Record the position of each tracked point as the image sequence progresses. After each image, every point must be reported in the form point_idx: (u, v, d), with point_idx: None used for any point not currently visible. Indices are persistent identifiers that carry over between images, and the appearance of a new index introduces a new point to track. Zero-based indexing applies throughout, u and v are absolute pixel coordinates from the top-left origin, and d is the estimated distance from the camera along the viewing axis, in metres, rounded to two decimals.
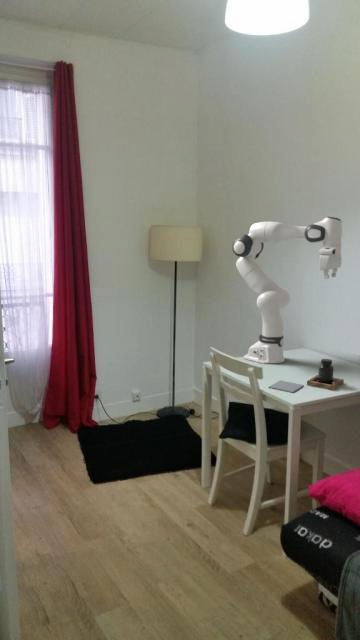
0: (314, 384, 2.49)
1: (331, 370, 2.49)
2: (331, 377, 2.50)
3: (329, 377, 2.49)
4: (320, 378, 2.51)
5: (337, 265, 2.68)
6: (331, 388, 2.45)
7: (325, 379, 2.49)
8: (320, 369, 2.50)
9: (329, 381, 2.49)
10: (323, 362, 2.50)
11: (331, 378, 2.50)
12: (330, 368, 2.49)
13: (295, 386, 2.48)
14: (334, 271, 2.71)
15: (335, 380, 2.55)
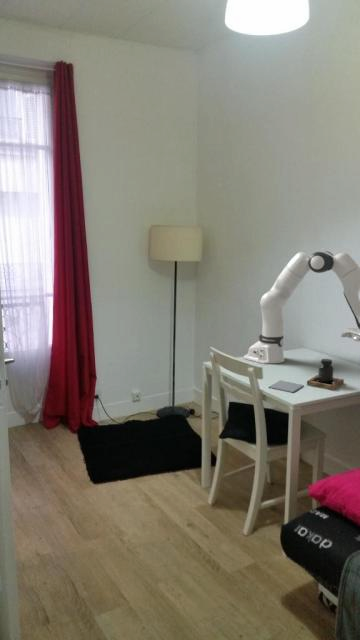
0: (314, 384, 2.49)
1: (331, 370, 2.49)
2: (331, 377, 2.50)
3: (329, 377, 2.49)
4: (320, 378, 2.51)
5: None
6: (331, 388, 2.45)
7: (325, 379, 2.49)
8: (320, 369, 2.50)
9: (329, 381, 2.49)
10: (323, 362, 2.50)
11: (331, 378, 2.50)
12: (330, 368, 2.49)
13: (295, 386, 2.48)
14: None
15: (335, 380, 2.55)
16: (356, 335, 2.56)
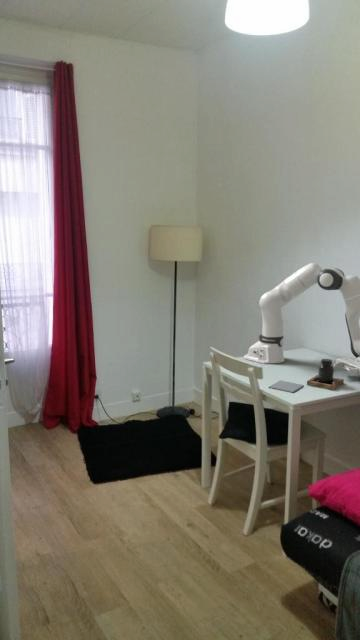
0: (314, 384, 2.49)
1: (331, 370, 2.49)
2: (331, 377, 2.50)
3: (329, 377, 2.49)
4: (320, 378, 2.51)
5: None
6: (331, 388, 2.45)
7: (325, 379, 2.49)
8: (320, 369, 2.50)
9: (329, 381, 2.49)
10: (323, 362, 2.50)
11: (331, 378, 2.50)
12: (330, 368, 2.49)
13: (295, 386, 2.48)
14: None
15: (335, 380, 2.55)
16: (349, 366, 2.58)
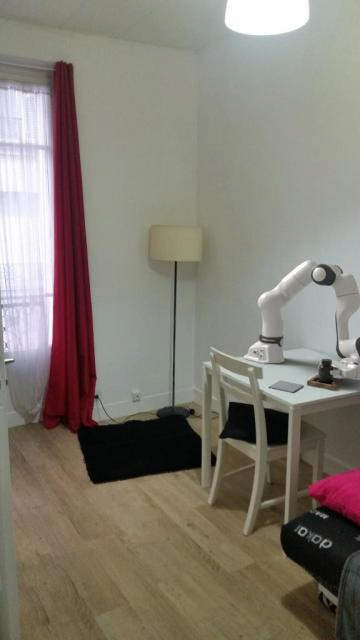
0: (314, 384, 2.49)
1: None
2: (331, 377, 2.50)
3: (329, 377, 2.49)
4: (320, 378, 2.51)
5: None
6: (331, 388, 2.45)
7: (325, 379, 2.49)
8: (320, 369, 2.50)
9: (329, 381, 2.49)
10: (323, 362, 2.50)
11: (331, 378, 2.50)
12: (330, 368, 2.49)
13: (295, 386, 2.48)
14: None
15: (335, 380, 2.55)
16: None
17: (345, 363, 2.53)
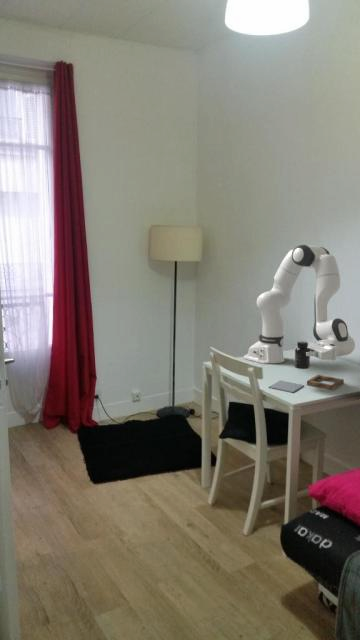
0: (314, 384, 2.49)
1: None
2: (307, 359, 2.45)
3: (305, 359, 2.44)
4: (296, 361, 2.46)
5: None
6: (331, 388, 2.45)
7: (301, 362, 2.44)
8: (296, 352, 2.46)
9: (306, 364, 2.45)
10: (299, 344, 2.45)
11: (307, 360, 2.45)
12: (306, 350, 2.44)
13: (295, 386, 2.48)
14: None
15: (335, 380, 2.55)
16: None
17: (322, 345, 2.49)
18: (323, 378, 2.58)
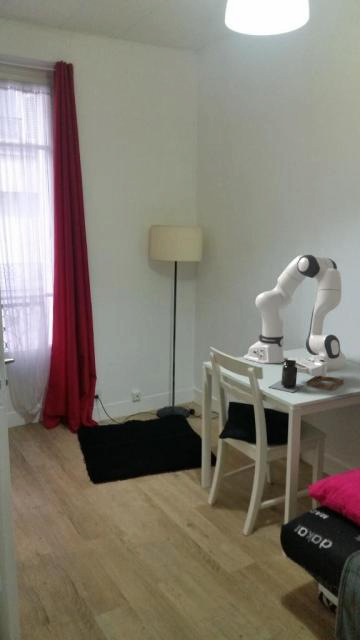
0: (314, 384, 2.49)
1: (294, 370, 2.44)
2: (294, 377, 2.44)
3: (292, 376, 2.44)
4: (283, 378, 2.45)
5: None
6: (331, 388, 2.45)
7: (288, 379, 2.44)
8: (283, 368, 2.46)
9: (292, 381, 2.44)
10: (287, 361, 2.45)
11: (294, 378, 2.44)
12: (294, 367, 2.44)
13: (295, 386, 2.48)
14: None
15: (335, 380, 2.55)
16: (299, 365, 2.51)
17: (312, 360, 2.50)
18: (323, 378, 2.58)
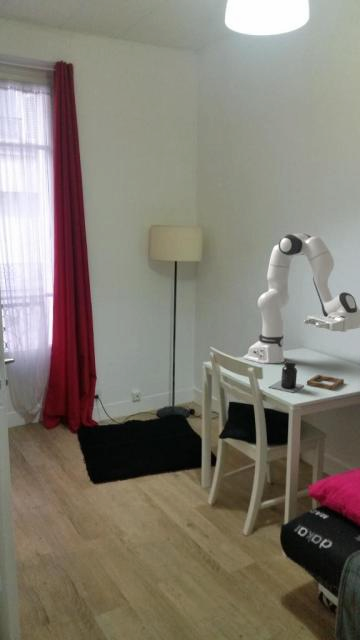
0: (314, 384, 2.49)
1: (294, 372, 2.43)
2: (294, 380, 2.43)
3: (291, 379, 2.43)
4: (283, 380, 2.45)
5: None
6: (331, 388, 2.45)
7: (287, 382, 2.43)
8: (283, 371, 2.44)
9: (292, 384, 2.43)
10: (286, 364, 2.44)
11: (294, 381, 2.44)
12: (293, 370, 2.42)
13: None
14: (309, 321, 2.54)
15: (335, 380, 2.55)
16: (319, 322, 2.51)
17: (332, 317, 2.50)
18: (323, 378, 2.58)
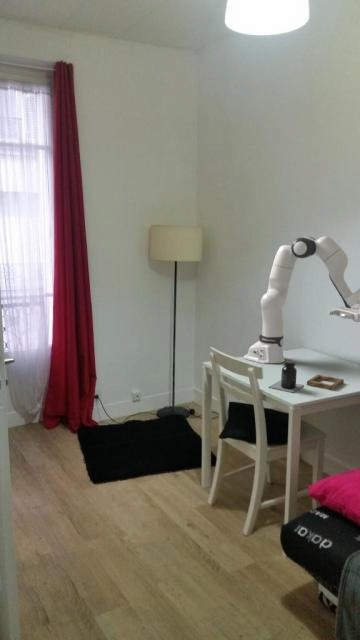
0: (314, 384, 2.49)
1: (293, 372, 2.43)
2: (293, 379, 2.44)
3: (291, 379, 2.43)
4: (282, 380, 2.45)
5: None
6: (331, 388, 2.45)
7: (287, 382, 2.43)
8: (282, 371, 2.44)
9: (291, 384, 2.43)
10: (286, 364, 2.44)
11: (294, 381, 2.44)
12: (292, 370, 2.43)
13: None
14: None
15: (335, 380, 2.55)
16: (344, 313, 2.58)
17: (356, 308, 2.57)
18: (323, 378, 2.58)
